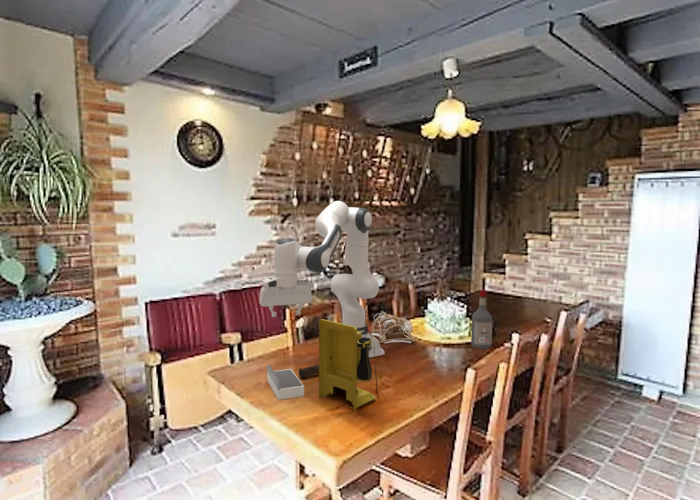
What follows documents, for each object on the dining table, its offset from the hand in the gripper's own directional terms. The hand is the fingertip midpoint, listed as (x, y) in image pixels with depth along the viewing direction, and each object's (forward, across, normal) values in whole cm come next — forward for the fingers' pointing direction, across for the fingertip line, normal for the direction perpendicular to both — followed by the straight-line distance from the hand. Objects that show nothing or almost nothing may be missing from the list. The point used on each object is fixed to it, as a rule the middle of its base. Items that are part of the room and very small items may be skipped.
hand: (286, 315), depth 172 cm
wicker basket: (+31, -73, -48) cm, 93 cm away
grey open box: (+29, +1, 0) cm, 29 cm away
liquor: (+30, -107, -17) cm, 113 cm away
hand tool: (+32, -11, -9) cm, 35 cm away
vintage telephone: (+29, -20, +19) cm, 40 cm away
